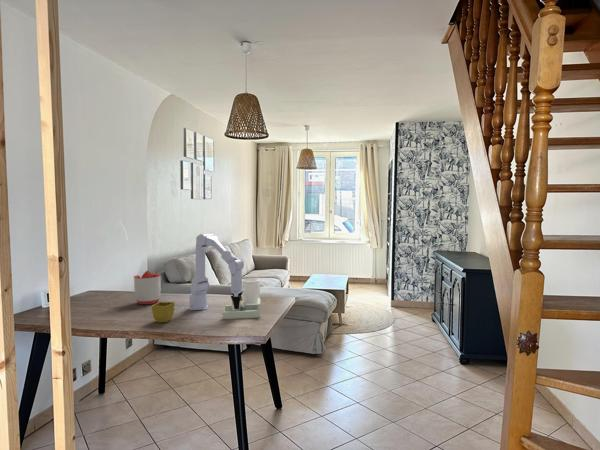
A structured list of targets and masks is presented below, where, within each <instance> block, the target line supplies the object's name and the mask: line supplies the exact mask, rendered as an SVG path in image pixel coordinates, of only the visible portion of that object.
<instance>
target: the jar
mask: <svg viewBox="0 0 600 450" xmlns="http://www.w3.org/2000/svg"><path fill="white" fill-rule="evenodd" d="M260 281H261V279H259V278H244V279H243V278H242V290H244V291H243V292H242V295H241V296H242V299H243V302H246V304H257V301H258V298H260V293H261V287H260V286H261V285H260Z"/></svg>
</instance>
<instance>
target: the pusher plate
mask: <svg viewBox="0 0 600 450" xmlns="http://www.w3.org/2000/svg"><path fill="white" fill-rule="evenodd" d="M242 311H246V302H244V301H242Z"/></svg>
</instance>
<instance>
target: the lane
mask: <svg viewBox="0 0 600 450" xmlns="http://www.w3.org/2000/svg"><path fill="white" fill-rule="evenodd" d="M261 309H262V308H261V297H259V298H258V301H257V304H246V311H232V304H227V305H225V306H224V311H222V320H227V319H228V320H229V319H231V320H233V319H252V318H253V319H254V318H261V317H262V316H261V315H262V314H261V312H262V311H261Z"/></svg>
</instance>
